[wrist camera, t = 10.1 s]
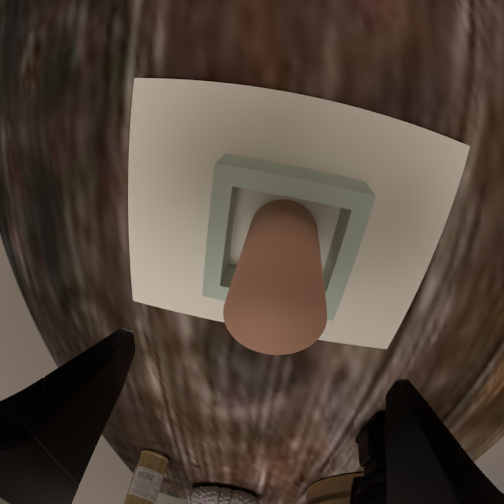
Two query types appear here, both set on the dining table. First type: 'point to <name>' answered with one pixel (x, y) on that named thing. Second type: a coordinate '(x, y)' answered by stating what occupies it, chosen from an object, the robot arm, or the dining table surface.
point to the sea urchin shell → (219, 496)
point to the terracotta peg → (278, 282)
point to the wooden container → (332, 490)
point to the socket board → (283, 197)
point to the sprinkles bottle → (147, 478)
